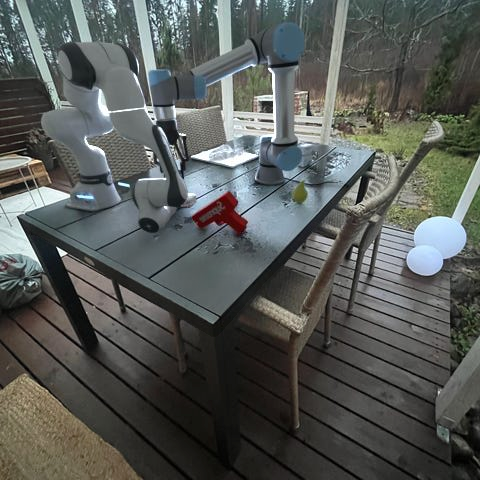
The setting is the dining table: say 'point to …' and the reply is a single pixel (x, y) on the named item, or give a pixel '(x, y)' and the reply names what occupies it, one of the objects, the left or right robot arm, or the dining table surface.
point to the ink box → (306, 154)
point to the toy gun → (221, 214)
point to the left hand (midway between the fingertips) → (176, 191)
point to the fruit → (300, 192)
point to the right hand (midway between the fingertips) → (174, 179)
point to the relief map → (225, 156)
